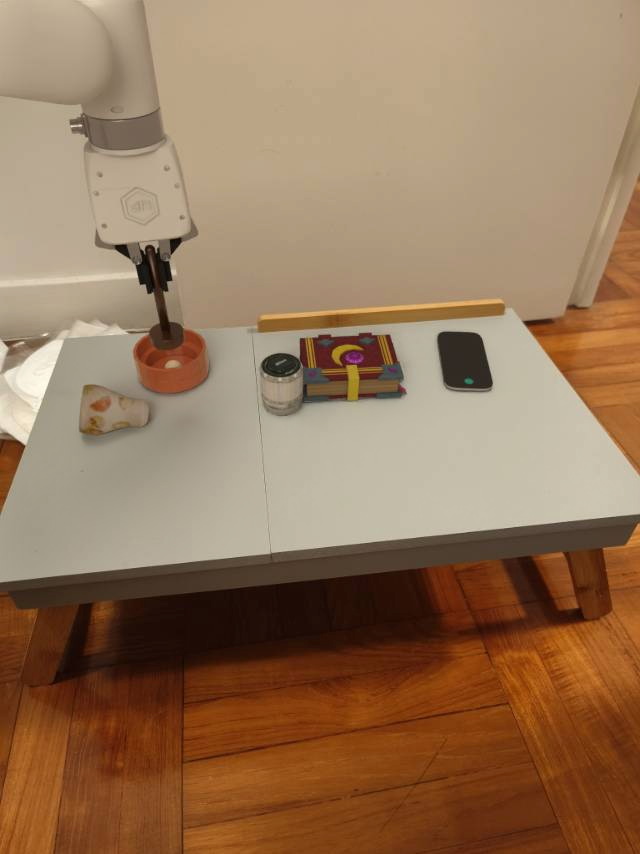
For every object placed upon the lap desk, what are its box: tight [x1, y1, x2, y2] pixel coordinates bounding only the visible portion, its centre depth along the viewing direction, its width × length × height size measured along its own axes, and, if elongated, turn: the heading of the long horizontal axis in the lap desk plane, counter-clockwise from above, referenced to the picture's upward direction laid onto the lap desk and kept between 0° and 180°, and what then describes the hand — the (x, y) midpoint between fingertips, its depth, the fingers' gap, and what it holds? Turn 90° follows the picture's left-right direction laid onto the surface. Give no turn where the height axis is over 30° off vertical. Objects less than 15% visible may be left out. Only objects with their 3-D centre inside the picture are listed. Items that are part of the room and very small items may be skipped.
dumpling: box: [164, 360, 182, 369], centre depth 96 cm, size 3×3×3 cm
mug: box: [78, 383, 150, 436], centre depth 87 cm, size 8×10×10 cm
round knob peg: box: [144, 244, 185, 350], centre depth 76 cm, size 4×4×14 cm
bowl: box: [132, 327, 210, 394], centre depth 96 cm, size 11×11×5 cm
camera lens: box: [258, 352, 303, 416], centre depth 91 cm, size 6×6×8 cm
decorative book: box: [299, 332, 408, 403], centre depth 96 cm, size 11×16×5 cm
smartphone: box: [436, 330, 494, 392], centre depth 101 cm, size 8×1×15 cm
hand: (157, 286), depth 75 cm, fingers closed on round knob peg, 1 cm apart
